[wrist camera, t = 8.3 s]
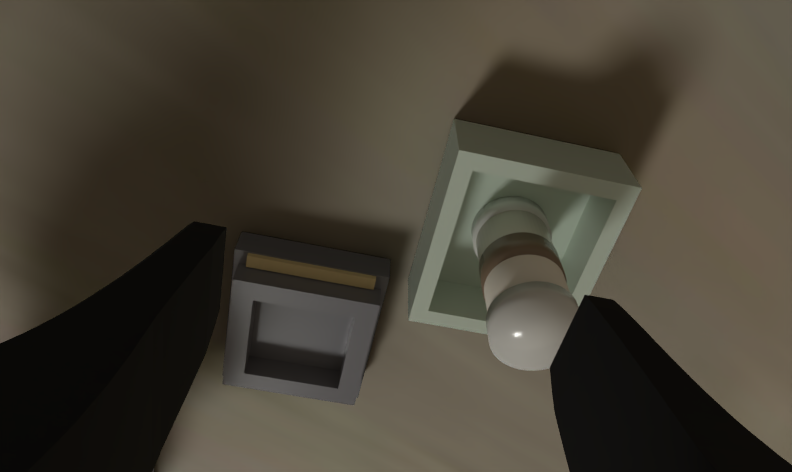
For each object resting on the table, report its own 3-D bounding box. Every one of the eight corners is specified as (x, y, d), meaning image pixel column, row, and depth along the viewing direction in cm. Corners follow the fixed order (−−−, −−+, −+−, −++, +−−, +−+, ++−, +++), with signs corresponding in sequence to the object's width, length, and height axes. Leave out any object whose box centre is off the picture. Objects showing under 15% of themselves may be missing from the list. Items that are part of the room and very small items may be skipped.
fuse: (530, 267, 24) (561, 378, 19) (461, 250, 24) (475, 360, 19) (559, 206, 23) (601, 310, 18) (486, 188, 22) (508, 289, 17)
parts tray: (551, 305, 26) (563, 347, 24) (408, 279, 25) (408, 320, 23) (619, 153, 22) (642, 188, 20) (454, 118, 21) (459, 150, 19)
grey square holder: (359, 377, 28) (356, 415, 26) (229, 355, 28) (216, 393, 26) (390, 259, 25) (389, 293, 23) (242, 231, 24) (228, 265, 22)
